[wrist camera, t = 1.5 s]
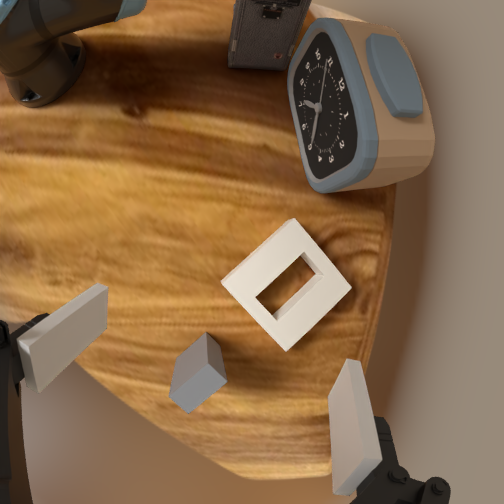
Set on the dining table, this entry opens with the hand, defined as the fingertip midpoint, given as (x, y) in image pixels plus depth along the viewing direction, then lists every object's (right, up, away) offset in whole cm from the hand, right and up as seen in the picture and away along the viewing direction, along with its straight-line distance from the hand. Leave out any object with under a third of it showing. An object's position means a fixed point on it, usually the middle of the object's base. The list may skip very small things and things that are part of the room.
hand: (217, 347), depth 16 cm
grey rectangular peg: (-6, -10, +29) cm, 31 cm away
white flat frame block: (+6, 0, +31) cm, 31 cm away
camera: (+2, +42, +30) cm, 51 cm away
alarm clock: (+13, +23, +31) cm, 41 cm away
